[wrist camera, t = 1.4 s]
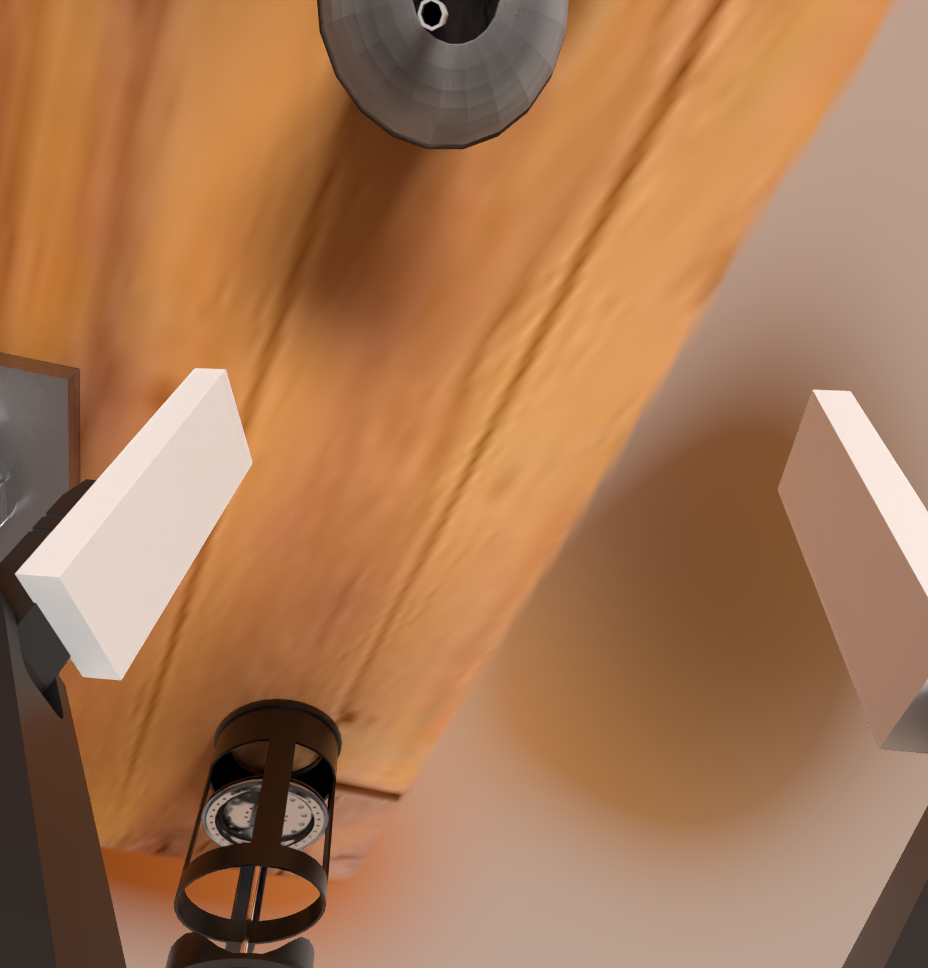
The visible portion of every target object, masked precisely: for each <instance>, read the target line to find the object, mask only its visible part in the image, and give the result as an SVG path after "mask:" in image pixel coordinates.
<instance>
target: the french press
mask: <svg viewBox="0 0 928 968" xmlns="http://www.w3.org/2000/svg"><path fill="white" fill-rule="evenodd" d="M257 741H270V742H269V747H268V753H267V758H266V764H265V769H264V772H261V771H257V770H255V769H252V768H250V767H248V766H247V765H245V764H244V763H242V762H241V761H240V760H239V759H238V758H237V756H236V755H235V753H234V751H233V749H234V748H236V747H239V746H242V745H244V744H248V743H253V742H257ZM295 744H298V745H301V746H304V747H307V748H309V749H311V750H313V751H315V752H316V753H318V754H319V755H320V756H321V757H320V758H319V759H318V761H316V762H315V763H314V764H313V765H311V766H310V767H308V768H306V769H303V770H301V771H298V772H293V773H291V771H292V764H293V757H294V750H295ZM341 745H342V741H341V734H340V732H339V729H338V727H337V725H336V724H335V723H334V721H333V720H332V719H331V718H330V717H329V716H328V715H326V714H325V713H324V712H322V711H321V710H319V709H317V708H315V707H313V706H310V705H308V704H305V703H302V702H297V701H292V700H280V699H274V700H263V701H258V702H254V703H250V704H248V705H245V706H242V707H240V708H238V709H237V710H235V711H233V712H232V713H230V714H229V715H228V716H227V717H226V718H225V719H224V720H223V721H222V723H221V724H220V726H219V727H218V730H217V732H216V735H215V740H214V748H215V751H214V755H213V759H212V762H211V766H210V770H209V774H208V777H207V781H206V785H205V789H204V792H203V796H202V800H201V804H200V807H199V811H198V815H197V819H196V822H195V826H194V830H193V834H192V837H191V841H190V845H189V849H188V852H187V856H186V860H185V864H184V867H183V871H182V875H181V878H180V882H179V886H178V890H177V893H176V897H175V901H174V910H175V912H176V914H177V917H178V919H179V920H180V921H181V922H182V923H183V925H185V926H186V927H187V928H189V929H190V930H191V931H193V932H192V933H187V934H184V935H183V936H182V937H180V938H179V939H178V940H177V941H176V942H175V943H174V945H173V946H172V947H171V950H170V952H169V956H168V960H167V963H166V967H165V968H313V963H314V949H313V946H312V944H311V943H310V941H309V940H308V939H306V938H303V937H300V938H297V939H295V940H293V941H291V942H289V943H287V944H285V945H284V946H282V947H280V948H278V949H276V950H273V951H270V952H267V953H264V954H257V953H253V951H254V947H255V944H263V943H271V942H276V941H281V940H284V939H287V938H291V937H294V936H296V935H298V934H300V933H302V932H304V931H306V930H308V929H309V928H310V927H312V926H313V925H315V924H316V922H317V921H318V920H319V919H320V918H321V917H322V915H323V913H324V911H325V906H326V898H327V885H328V873H329V860H330V847H331V835H332V822H333V809H334V797H335V784H336V771H337V759H338V757H339V755H340V751H341ZM209 787H210V789H211V791H212V792H213V795H212V796H211V797H210V799H209V801H208V802H207V804H206V806H205V803H206V799H207V795H208V791H209ZM327 798H328V808H327V807H326V804H325V802H324V801H325V800H326V799H327ZM201 818H202V824H203V828H204V830H205V831H206V833H207V834H208V836H209V837H210V838H211V839H213V840H214V841H215V842H216V843H218V844H219V845H221V846H223V847H219V848H217V849H214V850H211V851H208V852H206V853H204V854H203V855H201V856H199V857H197V858H196V859H195V860H193V861H192V862H191V863H190V860H191V857H192V853H193V849H194V845H195V841H196V837H197V834H198V830H199V826H200V822H201ZM325 830H326V831H325ZM324 832H325V843H324V854H323V866H321V865H320V864H319V863H318V862H317V861H316V860H315V859H314V858H312V857H311V856H309V855H307V854H306V853H304V852H301V851H299V850H301V849H304V848H305V847H307V846H309V845H311V844H313V843H314V842H315V841H317V840H318V839H319V838H320V837H321V836H322V835H323V833H324ZM232 867H241V868H240V874H239V879H238V884H237V889H236V894H235V900H234V905H233V910H232V915H231V919H227V918H222V917H218V916H216V915H213V914H210V913H208V912H206V911H204V910H202V909H200V908H199V907H197V906H196V905H195V904H194V903H192V902H191V900H190V899H189V898H188V897H187V895H186V893H185V891H184V889H185V888H186V887H187V886H188V885H189V884H191V883H192V882H193V881H194V880H196V879H198V878H200V877H202V876H204V875H206V874H209V873H212V872H214V871H218V870H222V869H227V868H232ZM268 867H271V868H278V869H282V870H286V871H290V872H292V873H295V874H297V875H299V876H302V877H303V878H305V879H307V880H308V881H310V882H311V883H312V884H313V885H314V886H315V887H316V888H317V889H318V890H319V892H320V897H319V898H318V899H317V900H316V901H315V902H314V903H313V904H311V905H310V906H309V907H307V908H306V909H304V910H302V911H300V912H298V913H296V914H293V915H290V916H287V917H284V918H279V919H274V920H266V921H259V919H260V913H261V906H262V900H263V894H264V888H265V881H266V875H267V869H268ZM207 938H209V939H212V940H216V941H220V942H225V943H226V946H225V949H222V948H220V947H218V946H217V945H215V944H214V943H213V942H211V941H209V940H208V939H207Z"/></svg>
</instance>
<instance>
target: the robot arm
mask: <svg viewBox="0 0 928 968" xmlns="http://www.w3.org/2000/svg"><path fill="white" fill-rule="evenodd" d="M252 463H253V462H252V459H251V455H250V452H249V448H248V445H247V441H246V438H245V435H244V431H243V428H242V424H241V421H240V417H239V414H238V410H237V407H236V403H235V400H234V396H233V393H232V389H231V386H230V382H229V379H228V375H227V372H226V369H204V368H195V369H194V370H193V371H192V372H191V373H190V374H189V375H188V377H187V378H186V379H185V380H184V381H183V382H182V383H181V385H180V386H179V387H178V388H177V389H176V390H175V391H174V393H173V394H172V395H171V396H170V397H169V398H168V399H167V401H166V402H165V403H164V404H163V405H162V406H161V407H160V409H159V410H158V411H157V412H156V413H155V414H154V415H153V417H152V418H151V419H150V420H149V421H148V422H147V423H146V425H145V426H144V427H143V428H142V429H141V430H140V431H139V433H138V434H137V435H136V436H135V437H134V438H133V439H132V441H131V442H130V443H129V444H128V445H127V446H126V447H125V449H124V450H123V451H122V452H121V453H120V454H119V455H118V457H117V458H116V459H115V460H114V461H113V462H112V463H111V465H110V466H109V467H108V468H107V469H106V470H105V471H104V473H103V474H102V475H101V476H100V477H99V478H98V479H97V480H87V479H86V480H85V481H83V482H81V483H80V484H78V485H77V486H75V487H74V488H72V489H71V490H69V491H68V492H66V493H64V494H63V495H62V496H61V497H60V498H59V499H58V500H57V501H56V502H55V503H54V505H53V506H52V507H51V508H50V509H49V510H48V511H47V512H46V516H45V517H42V518H41V519H40V520H39V521H38V522H37V523H36V524H35V525H34V526H33V530H32V532H31V531H29V532H28V533H27V534H26V535H25V536H24V537H23V538H22V540H21V541H20V542H19V543H18V544H17V545H16V546H15V547H14V548H13V549H12V550H11V552H10V553H9V554H8V555H7V556H6V557H5V558H4V559H3V560H2V561H1V562H0V968H126V964H125V959H124V955H123V950H122V945H121V941H120V936H119V932H118V927H117V922H116V918H115V913H114V908H113V904H112V899H111V895H110V890H109V886H108V881H107V876H106V872H105V867H104V862H103V858H102V853H101V849H100V844H99V839H98V835H97V830H96V826H95V821H94V816H93V812H92V807H91V803H90V798H89V793H88V789H87V784H86V780H85V775H84V770H83V766H82V761H81V757H80V752H79V747H78V743H77V738H76V734H75V729H74V724H73V720H72V715H71V710H70V706H69V701H68V697H67V692H66V687H65V684H64V683H63V681H62V680H61V678H60V676H59V675H58V674H59V672H60V671H61V669H62V668H63V666H64V665H65V663H66V662H67V661H68V659H69V658H70V659H71V660H72V662H73V663H74V665H75V666H76V668H77V669H78V671H79V672H80V674H81V675H82V677H89V678H100V679H111V680H122V678H123V677H124V675H125V674H126V672H127V670H128V669H129V667H130V665H131V664H132V662H133V660H134V659H135V657H136V655H137V654H138V652H139V650H140V649H141V647H142V645H143V644H144V642H145V640H146V639H147V637H148V635H149V634H150V632H151V630H152V629H153V627H154V625H155V624H156V622H157V620H158V619H159V617H160V616H161V614H162V612H163V611H164V609H165V607H166V606H167V604H168V602H169V601H170V599H171V597H172V596H173V594H174V592H175V591H176V589H177V587H178V586H179V584H180V582H181V581H182V579H183V577H184V576H185V574H186V572H187V571H188V569H189V567H190V566H191V564H192V562H193V561H194V559H195V558H196V556H197V554H198V553H199V551H200V549H201V548H202V546H203V544H204V543H205V541H206V539H207V538H208V536H209V534H210V533H211V531H212V529H213V528H214V526H215V524H216V523H217V521H218V519H219V518H220V516H221V514H222V513H223V511H224V509H225V508H226V506H227V504H228V503H229V501H230V500H231V498H232V496H233V495H234V493H235V491H236V490H237V488H238V486H239V485H240V483H241V481H242V480H243V478H244V476H245V475H246V473H247V471H248V470H249V468H250V466H251V465H252ZM778 492H779V494H780V497H781V500H782V502H783V505H784V507H785V510H786V512H787V515H788V518H789V520H790V523H791V525H792V528H793V530H794V533H795V535H796V538H797V541H798V543H799V546H800V548H801V551H802V553H803V556H804V558H805V561H806V564H807V566H808V569H809V571H810V574H811V576H812V579H813V581H814V584H815V587H816V589H817V592H818V594H819V597H820V600H821V602H822V605H823V607H824V610H825V612H826V615H827V617H828V620H829V622H830V625H831V628H832V630H833V633H834V635H835V638H836V641H837V643H838V646H839V648H840V651H841V653H842V656H843V658H844V661H845V664H846V666H847V669H848V671H849V674H850V676H851V679H852V681H853V684H854V687H855V689H856V692H857V694H858V697H859V699H860V702H861V705H862V707H863V709H864V712H865V715H866V717H867V720H868V722H869V725H870V728H871V730H872V733H873V735H874V738H875V740H876V743H877V746H878V748H879V749H884V750H895V751H906V752H917V753H928V512H927V511H926V509H925V507H924V505H923V504H922V502H921V501H920V499H919V498H918V496H917V494H916V493H915V491H914V490H913V488H912V487H911V485H910V484H909V482H908V480H907V479H906V477H905V476H904V474H903V473H902V471H901V469H900V468H899V466H898V465H897V463H896V462H895V460H894V459H893V457H892V455H891V454H890V452H889V451H888V449H887V448H886V446H885V444H884V443H883V441H882V440H881V439H880V437H879V435H878V434H877V432H876V430H875V429H874V427H873V426H872V424H871V423H870V421H869V419H868V418H867V416H866V415H865V413H864V412H863V410H862V409H861V407H860V405H859V404H858V402H857V401H856V399H855V398H854V396H853V394H852V393H851V391H830V390H812V393H811V396H810V399H809V401H808V404H807V407H806V410H805V413H804V416H803V419H802V421H801V424H800V427H799V430H798V433H797V436H796V439H795V441H794V444H793V447H792V450H791V453H790V456H789V458H788V461H787V464H786V467H785V470H784V473H783V476H782V478H781V482H780V484H779V487H778ZM842 968H928V807H927V808H926V810H925V812H924V814H923V816H922V818H921V819H920V821H919V823H918V825H917V827H916V829H915V831H914V833H913V835H912V836H911V838H910V840H909V842H908V844H907V846H906V848H905V850H904V852H903V853H902V855H901V857H900V859H899V861H898V863H897V865H896V867H895V869H894V870H893V873H892V874H891V876H890V878H889V880H888V882H887V884H886V886H885V887H884V889H883V891H882V893H881V895H880V897H879V899H878V901H877V903H876V904H875V906H874V908H873V910H872V912H871V914H870V916H869V918H868V920H867V921H866V923H865V925H864V927H863V929H862V931H861V933H860V935H859V937H858V938H857V941H856V942H855V944H854V946H853V948H852V950H851V952H850V954H849V955H848V957H847V959H846V961H845V963H844V965H843V967H842Z"/></svg>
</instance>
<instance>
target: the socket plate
mask: <svg viewBox="0 0 928 968" xmlns="http://www.w3.org/2000/svg"><path fill="white" fill-rule="evenodd" d="M78 484H80V369H77V368H72V367H67V366H63V365H58V364H53V363H48V362H43V361H38V360H33V359H28V358H24V357H19V356H14V355H9V354H4V353H0V562H1V561H2V560H3V559H4V558H5V557H6V556H7V555H8V554H9V553H10V552H11V550H12V549H13V548H14V547H15V546H16V545H17V544H18V543H19V542H20V541H21V540H22V538H23V537H24V536H25V535H26V534H27V533H28V532H29V531H31V532H32V530H33V526H34V525H35V524H36V523H37V522H38V521H39V520H40V519H41V518H42V517H45V516H46V512H47V511H48V510H49V509H50V508H51V507H52V506H53V505H54V503H55V502H56V501H57V500H58V499H59V498H60V497H61V496H62V495H63V494H64V493H66V492H68V491H69V490H71V489H72V488H74V487H75V486H77V485H78Z"/></svg>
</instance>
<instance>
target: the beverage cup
mask: <svg viewBox="0 0 928 968" xmlns="http://www.w3.org/2000/svg"><path fill="white" fill-rule="evenodd" d="M317 6H318V17H319V29H320V34H321V37H322V39H323V42H324V45H325V48H326V50H327V53H328V56H329V59H330V62H331V64H332V67H333V70H334V73H335V76H336V77H337V79H338V80H339V81H340V83H341V84H342V86H343V87H344V89H345V90H346V91H347V93H348V94H349V96H350V97H351V99H352V100H353V101H354V103H355V104H356V106H357V107H358V108H359V110H360V111H361V112H362V113H363V114H364V115H366V116H367V117H368V118H369V119H371V120H372V121H373V122H374V123H376V124H377V125H378V126H380V127H381V128H382V129H383V130H385V131H386V132H387V133H388V134H390V135H391V136H392V137H395V138H398V139H401V140H403V141H406V142H409V143H412V144H414V145H417V146H420V147H423V148H426V149H465V148H468V147H470V146H473V145H476V144H479V143H481V142H484V141H487V140H489V139H492V138H495V137H498V136H499V135H500V134H501V133H503V132H504V131H505V130H506V129H508V128H509V127H510V126H511V125H512V124H514V123H515V122H516V121H517V120H519V119H520V118H521V117H522V116H524V115H525V114H526V113H527V112H528V111H529V109H530V108H531V106H532V105H533V104H534V102H535V101H536V99H537V98H538V96H539V95H540V93H541V92H542V90H543V89H544V87H545V86H546V84H547V83H548V81H549V80H550V78H551V76H552V73H553V70H554V67H555V64H556V61H557V58H558V55H559V52H560V49H561V46H562V43H563V40H564V37H565V33H566V28H567V14H568V0H317Z"/></svg>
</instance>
